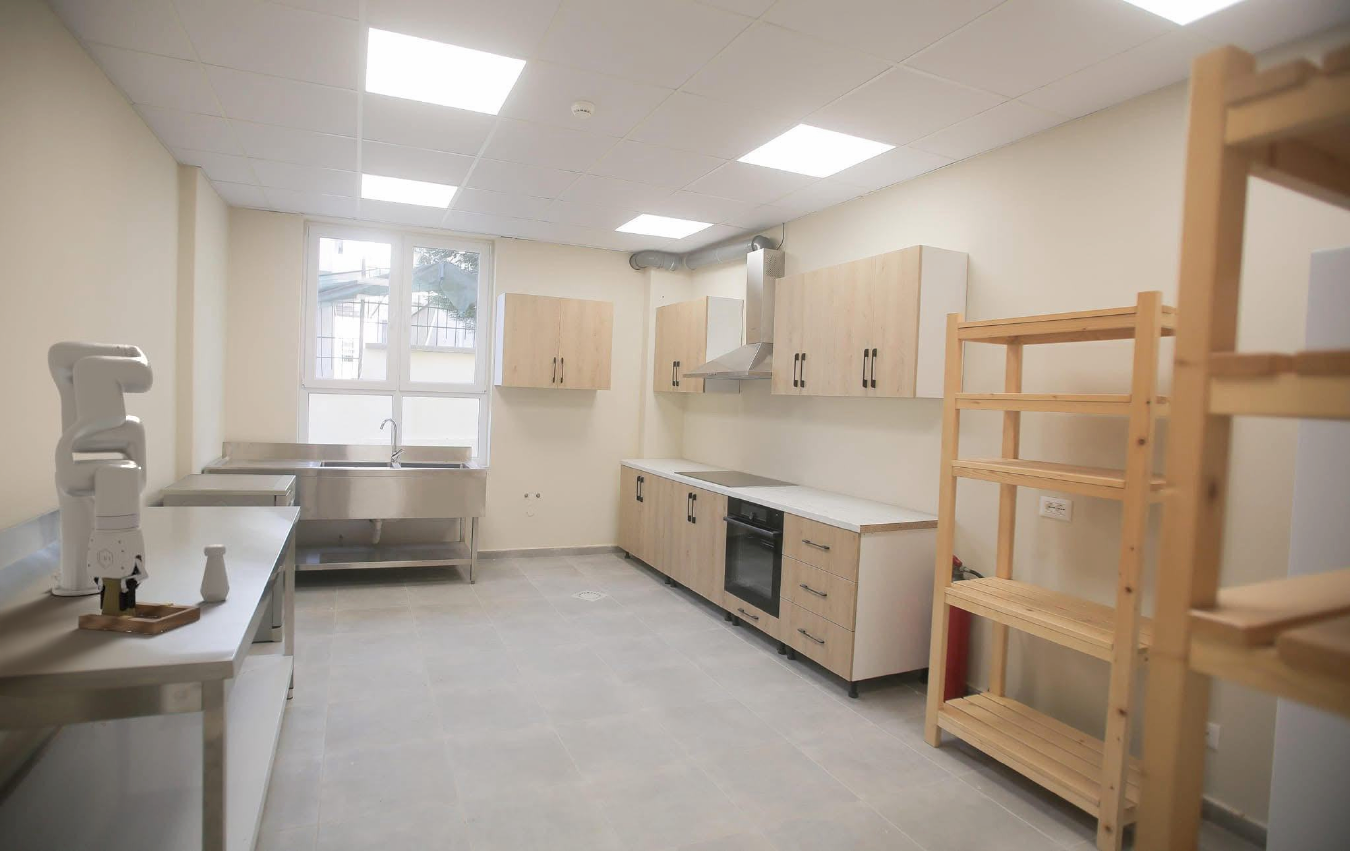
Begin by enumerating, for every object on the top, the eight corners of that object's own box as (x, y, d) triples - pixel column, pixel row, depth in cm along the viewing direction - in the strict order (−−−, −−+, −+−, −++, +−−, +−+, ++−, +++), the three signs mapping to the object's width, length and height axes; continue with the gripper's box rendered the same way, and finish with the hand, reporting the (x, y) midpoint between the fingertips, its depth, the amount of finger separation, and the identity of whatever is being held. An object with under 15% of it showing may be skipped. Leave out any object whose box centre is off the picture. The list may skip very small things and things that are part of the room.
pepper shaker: (112, 616, 153) (112, 566, 153) (142, 616, 154) (142, 566, 154) (92, 625, 147) (92, 572, 147) (123, 625, 148) (123, 572, 148)
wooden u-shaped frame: (78, 627, 146) (78, 614, 146) (128, 612, 157) (128, 599, 157) (154, 634, 143) (154, 620, 143) (200, 618, 154) (200, 605, 154)
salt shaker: (214, 604, 164) (214, 548, 163) (193, 602, 165) (193, 546, 165) (235, 597, 170) (235, 543, 169) (214, 595, 171) (214, 541, 170)
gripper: (66, 523, 148) (67, 610, 148) (135, 527, 145) (135, 616, 145) (101, 517, 155) (101, 601, 156) (167, 521, 152) (167, 606, 153)
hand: (118, 607), depth 151 cm, fingers closed on pepper shaker, 3 cm apart
